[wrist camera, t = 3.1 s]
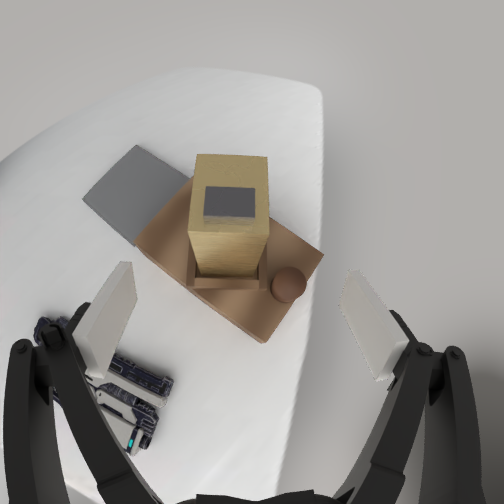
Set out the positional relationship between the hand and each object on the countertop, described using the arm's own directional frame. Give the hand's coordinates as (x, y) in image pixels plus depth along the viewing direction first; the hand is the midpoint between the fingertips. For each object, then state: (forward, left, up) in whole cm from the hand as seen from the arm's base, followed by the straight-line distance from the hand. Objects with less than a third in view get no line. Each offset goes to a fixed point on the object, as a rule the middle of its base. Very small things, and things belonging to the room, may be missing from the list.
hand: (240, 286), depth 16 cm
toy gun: (-8, -20, -15) cm, 26 cm away
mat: (-20, +5, -15) cm, 25 cm away
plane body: (-4, +5, -15) cm, 16 cm away
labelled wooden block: (-4, +5, -11) cm, 12 cm away
